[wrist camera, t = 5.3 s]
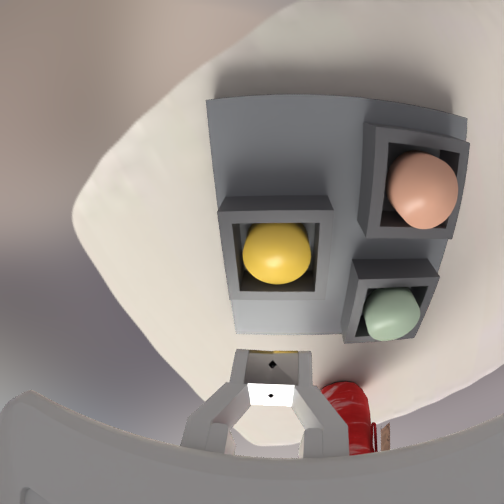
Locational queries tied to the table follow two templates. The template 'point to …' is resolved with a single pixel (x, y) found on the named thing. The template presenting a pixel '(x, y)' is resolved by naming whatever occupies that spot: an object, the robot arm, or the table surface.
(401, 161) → the terracotta button
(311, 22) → the table surface
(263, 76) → the table surface
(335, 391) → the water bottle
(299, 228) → the amber button
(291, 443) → the table surface
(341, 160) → the button panel
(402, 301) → the sage button
